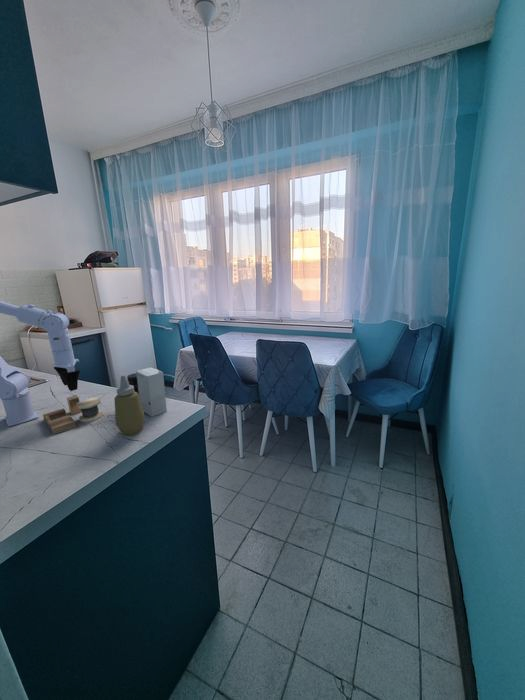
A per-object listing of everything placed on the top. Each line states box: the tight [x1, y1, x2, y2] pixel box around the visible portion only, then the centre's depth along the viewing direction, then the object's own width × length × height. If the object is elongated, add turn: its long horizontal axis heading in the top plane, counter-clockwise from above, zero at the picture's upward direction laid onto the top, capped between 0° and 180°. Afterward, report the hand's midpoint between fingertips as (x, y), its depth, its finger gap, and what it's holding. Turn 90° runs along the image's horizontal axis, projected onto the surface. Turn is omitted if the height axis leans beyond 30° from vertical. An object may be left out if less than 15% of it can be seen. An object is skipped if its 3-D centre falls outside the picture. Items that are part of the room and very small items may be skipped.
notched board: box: [42, 408, 77, 435], centre depth 95 cm, size 14×6×2 cm, turn 46°
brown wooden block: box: [66, 394, 82, 416], centre depth 102 cm, size 3×3×6 cm
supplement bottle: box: [126, 373, 139, 395], centre depth 104 cm, size 7×7×12 cm
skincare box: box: [136, 366, 168, 417], centre depth 100 cm, size 8×6×15 cm
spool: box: [76, 397, 104, 423], centre depth 98 cm, size 7×7×6 cm
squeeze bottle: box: [113, 374, 146, 437], centre depth 86 cm, size 8×8×18 cm
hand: (70, 387), depth 100 cm, fingers open, 7 cm apart
